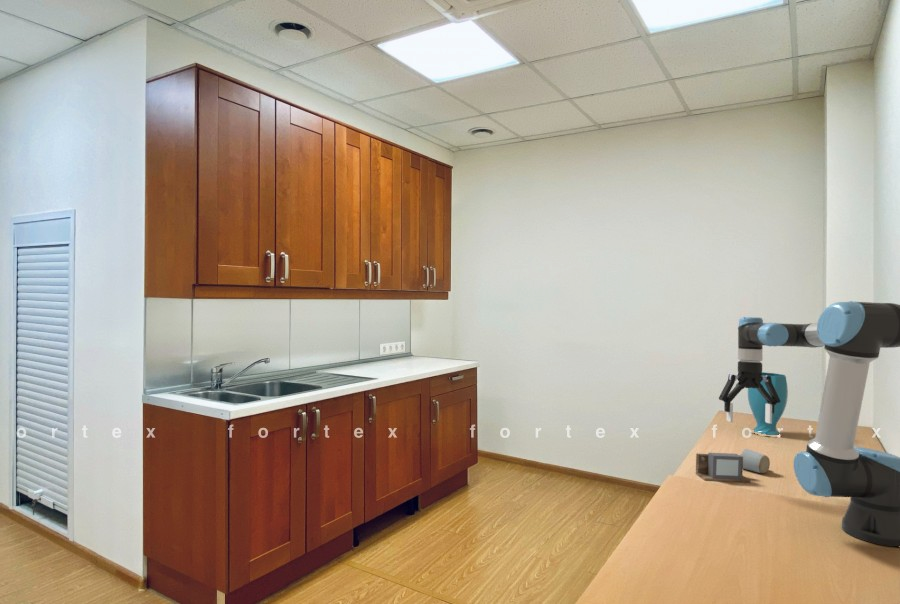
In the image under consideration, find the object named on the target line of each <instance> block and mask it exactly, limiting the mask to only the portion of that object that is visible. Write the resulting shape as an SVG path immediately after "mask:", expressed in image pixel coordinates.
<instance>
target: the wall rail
mask: <svg viewBox="0 0 900 604" xmlns="http://www.w3.org/2000/svg"><path fill="white" fill-rule="evenodd" d="M695 455H696V456H695V461H696V462H695V475H697V476H698V477H700V478H701V479H702V480H703V481H708V482H709V481H710V482H731V483H733V482H736V483H751V479H749V478H747V477H746V476H744V475H743V470H744V469H743V457H742V456H741V457H742V467H741V479H722V478H712V477H710V476H709V475H708V453H698V452H697V453H696V454H695ZM738 455H739V456H740V455H741V454H738Z"/></svg>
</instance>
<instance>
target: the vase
mask: <svg viewBox="0 0 900 604" xmlns="http://www.w3.org/2000/svg"><path fill="white" fill-rule="evenodd" d="M765 375H767V376H771V380H772V384H773V386H774V388H775V390H776V392H777V395H778V397H779V399H780V403H777V404H776V405H774V414H772V424H770V423H766V422H765V403H766V404H769V403H768V402H767V401H766V400H765V398H764V397H763V396H762V395H761V393H760V392H759V391H758V390H757V389H756V388H747V400H748V405H749V407H750V408H749V409H750V410H751V412H752V415H753V417H754V420H755V423H756V427H754V428H753V429H752V430H754V432H757V433H761V434H766V435H779V434H781V433H780V432H779V430H778V429H777V424H778V422H779V421H780V419H781V417H782V416H783V414H784V412H785V410H786V407H787V402H788V397H789V394H788V393H789V392H788V391H789V389H788V382H787V376H786V374H779V373H773V372H764V371H762V376H765ZM761 384H762V385H763V387H764V389H765V390H766V391H767V393H768V394H769V395H770V393H769V391H768V389H767V387H766V385H765V382H764V381H763V380H762V381H761ZM770 396H771V395H770Z"/></svg>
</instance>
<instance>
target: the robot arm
mask: <svg viewBox="0 0 900 604" xmlns="http://www.w3.org/2000/svg"><path fill="white" fill-rule="evenodd" d="M817 320H818V321H817V322H813V323H812V322H811V323H803V324H802V323H801V324H800V323H781V322H780V323H778V322H764V319H763V318H762V317H752V316H751V317H749V316H743V317H740V318H739V319H738V325H737V326H738V327H737V330H738V331H737V332H738V333H737V336H738V338H737V346H738V348H737V359H738V360H739V361H738V362H737V374H733V373H730V374H728V375H727V377H728V378H727V381H726V383H725V384H724V386H723V389H722V390H721V393H720V395H719V397H718V400H720V401H722V402H723V403H724V412H726V419H725V420H726V421H727V422H729V423H733V422H734V420H733V419H734V417H733V416H734V403H733V402H732V401H733V400H734V399H735V398H736V397H737V395H739V393H740V392H741V391H742V390H743V389H748V388H756V389H757V390H758V391H759V392H760V393H761V395H762V396H763V397H764V398H765V400H766V401H767V402H768V403H769V404H766V403H765V422H766V423H770V424H772V414H774V405H776V404H777V403H780V399H779V397H778V395H777V392H776V390H775V388H774V386H773V384H772V380H771V376H767V375H765V376H762V372H763V362H762V361H763V359H764V358H763V346H766V347H796V348H797V347H799V348H810V349H811V348H812V349H813V348H822V347H824V348H823V349H824V350H825V352H826V353H827V354H828V355H829V359H828V363H827V370H826V376H825V382H824V386H823V393H822V397H821V404H820V409H819V414H818V420H817V424H816V425H817V426H816V431H815V437H814V438H811V439H809V440H808V441H807V442H806V443H807V444H806V449H805V451H804V450H803V451H800V452H798V453H796V454H795V456H794V458H793V471H794V475H795V477H796V480H797V482H798V483H799V484H800V487H801V488H802V489H803V490H804V491H805V492H806V493H808V494H809V495H812V496H815V497H816V496H817V497H823V498H832V497H833V498H850V500H849V501H850V502H849V504H848V506H847V508H846V510H845V513H844V516H843V517H842V520H841V529H842V530H843V532H845V533H846V534H848V535H850V536H852V537H855V538H856V539H859V540H862V541H865V542H868V543H872V544H874V545H875V544H876V545H879V546H886V547H893V546H894V547H895V546H900V456H897V455H895V454H892V453H888V452H886V451H881V450H878V449H873V448H867V447H862V446H855V441H856V435H857V430H858V425H859V419H860V414H861V411H862V410H861V409H862V404H863V399H864V393H865V389H866V383H867V380H868V379H867V378H868V374H869V369H870V363H871V362H873V361H875V360H877V359H879V356H880V351H881V348H883V349H884V348H887V349H888V348H889V349H890V348H900V303H893V302H872V301H871V302H869V301H865V302H864V301H854V300H852V301H851V300H850V301H839V302H834V303H832V304H831V303H830V304H829V305H828V306H827V307H825V308H824V309H823V310H822V312H821V314H820V315H819V317H818V319H817ZM762 380H763V381H764V382H765V385H766V387H767V389H768V391H769V393H770V395H771V396H770V395H769V394H768V393H767V391H766V390H765V389H764V387H763V385H762V384H761V381H762ZM736 381H738V382H737V383H736ZM735 383H736V384H735ZM734 384H735V386H734ZM894 547H893V548H894ZM895 548H896V547H895Z"/></svg>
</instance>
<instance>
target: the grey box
mask: <svg viewBox="0 0 900 604" xmlns="http://www.w3.org/2000/svg"><path fill="white" fill-rule="evenodd" d="M707 454H708V475H709V476H710V477H712V478H722V479H741V467H742V457H741V456H739V455H740V454H737V453H729V452H727V453H726V452H724V453H723V452H708V453H707Z"/></svg>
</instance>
